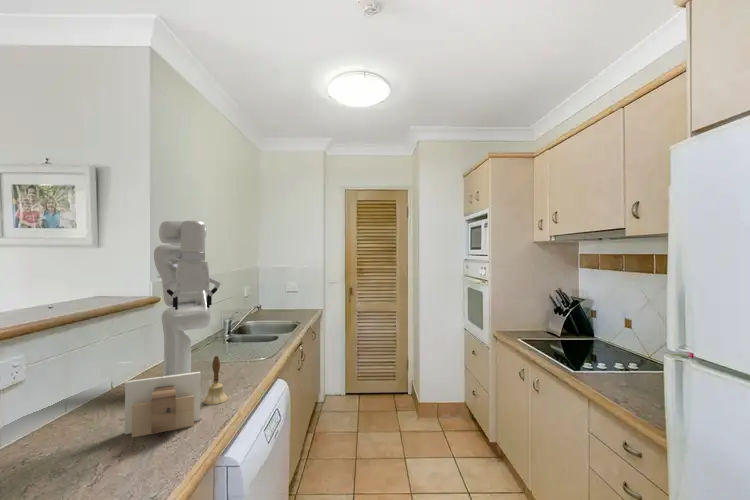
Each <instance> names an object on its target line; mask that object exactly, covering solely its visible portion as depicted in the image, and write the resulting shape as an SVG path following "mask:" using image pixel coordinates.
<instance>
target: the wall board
mask: <svg viewBox="0 0 750 500" xmlns="http://www.w3.org/2000/svg"><path fill="white" fill-rule="evenodd" d="M172 385H174V389H176V421H175V429H173V430H172V431H174V430H178V429H183V428H184V429H185V428H189V427H194V424H195V422H199V421H201V371H194V372H193V371H192V372H191V373H186V374H178V375H170V376H164V375H163V376H156V377H149V378H140V379H134V380H133V379H132V380H126V381H125V384H124V394H125V395H124V435H129V434H131V438H137V437H142V436H149V435H153V434H154V433H152V434H151V405H152V392H154V390H155V388H158V387H165V386H172ZM169 431H170V430H168V431H167V432H169ZM163 432H165V431H163ZM163 432H162V433H163ZM158 433H160V432H158ZM158 433H157V434H158Z"/></svg>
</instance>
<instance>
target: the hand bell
mask: <svg viewBox="0 0 750 500" xmlns="http://www.w3.org/2000/svg"><path fill="white" fill-rule="evenodd" d="M220 369H221V361H220V358H219V355H215V356H214V357H213V360H212V371H213V383H212V384H210V385H209V389H208V392H207V395H206V397H205V398H204V399H203V400H202V403H203V404H204V405H207V406H208V405H209V406H213V405H214V406H216V405H221V404H225V403H226V402H227V401H228V400H229V397H228V396H227V394H225V392H224V388H223V387H224V386H223V384H222V383H220V382H219V381H220V380H219V379H220V376H219V373H220Z"/></svg>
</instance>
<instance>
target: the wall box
mask: <svg viewBox="0 0 750 500" xmlns="http://www.w3.org/2000/svg"><path fill="white" fill-rule="evenodd" d="M175 421H176V389H174V385H172V386H165V387H158V388H155V390H154V392H152V405H151V434H150V435H153V434H158V432H159V433H163V431H164V432H169V431H174V430H176V429H175ZM173 429H174V430H173ZM168 430H169V431H168ZM152 433H153V434H152Z"/></svg>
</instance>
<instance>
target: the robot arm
mask: <svg viewBox="0 0 750 500" xmlns="http://www.w3.org/2000/svg"><path fill="white" fill-rule="evenodd" d="M158 238H159V241H160V242H161V243H162V244H160V245H158V246H156V247H155V248H154V250H153V260H154V266H155V268H156V271H157V273H158V275H159V276H160V278H161V282H162V283H161V285H162V286H161V287H162V294H163V300H164V303H165V305H166V306H167V307H168V308H166V309H164V311H162V314H161V325H162V330H163V376H170V375H178V374H186V373H192V340H191V338H190V337H189V335H187V334H186V333H185V331H189V330H190V331H191V330H200V329H206V328H207V327H209V325H210V323H211V310H210V309H211V308H210V307H211V306H212V304H213V303H212V302H213V301H212V300H213V299H212V296H213V295H215V293H216V292H217V291H218V290H219V287H220V286H221V282H220V281H217V280H215V279H213V278H211V277H210V269H209V262H208V261H206V238H207V229H206V224H205V222H203V221H201V220H200V221H199V220H184V221H182V220H181V221H177V220H165V221H163V222H161V223H160V225H159V229H158ZM175 265H176V266H175ZM210 284H213V285H214V287H213V288H212V289H211V290H210Z"/></svg>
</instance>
